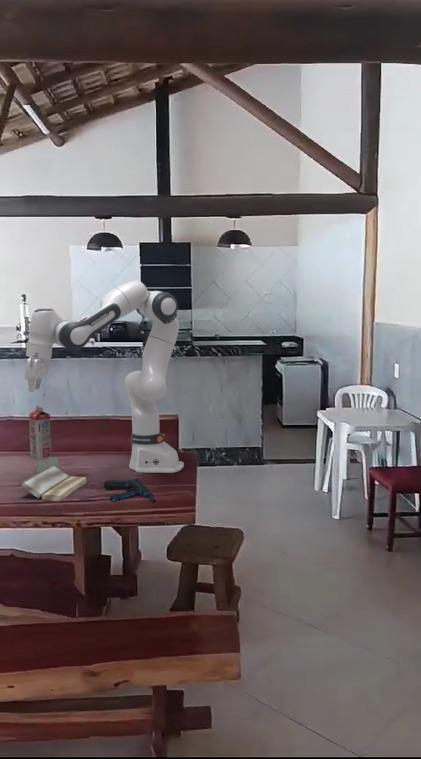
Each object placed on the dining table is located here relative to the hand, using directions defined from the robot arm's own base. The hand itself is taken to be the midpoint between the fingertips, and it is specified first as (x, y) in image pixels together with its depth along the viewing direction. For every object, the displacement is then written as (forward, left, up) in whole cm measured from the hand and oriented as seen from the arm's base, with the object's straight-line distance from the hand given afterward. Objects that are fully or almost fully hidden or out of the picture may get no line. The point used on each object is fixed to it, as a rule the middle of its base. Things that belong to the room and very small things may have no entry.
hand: (34, 390), depth 235 cm
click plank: (-4, +3, -34) cm, 34 cm away
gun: (-36, +1, -37) cm, 51 cm away
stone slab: (+9, -25, -37) cm, 46 cm away
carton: (+19, -39, -36) cm, 56 cm away
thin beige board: (-13, +3, -36) cm, 38 cm away
